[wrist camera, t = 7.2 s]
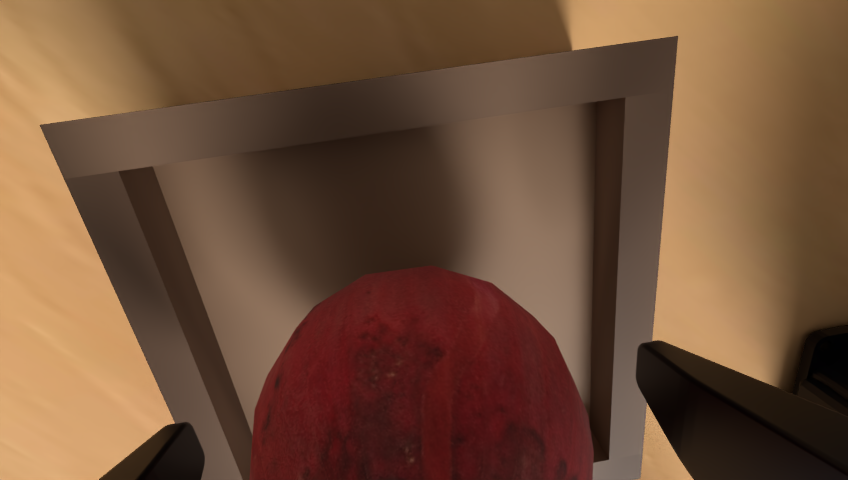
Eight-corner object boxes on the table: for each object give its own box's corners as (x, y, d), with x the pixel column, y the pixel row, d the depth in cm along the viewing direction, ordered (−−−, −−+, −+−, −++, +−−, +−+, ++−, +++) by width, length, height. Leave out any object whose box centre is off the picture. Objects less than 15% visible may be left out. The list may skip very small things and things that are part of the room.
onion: (275, 236, 10) (-72, 693, 3) (512, 197, 10) (843, 542, 3) (331, 420, 12) (229, 960, 5) (527, 388, 12) (732, 877, 5)
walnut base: (573, 51, 12) (677, 36, 8) (572, 375, 17) (640, 478, 13) (164, 108, 12) (39, 125, 8) (273, 428, 16) (235, 554, 12)
